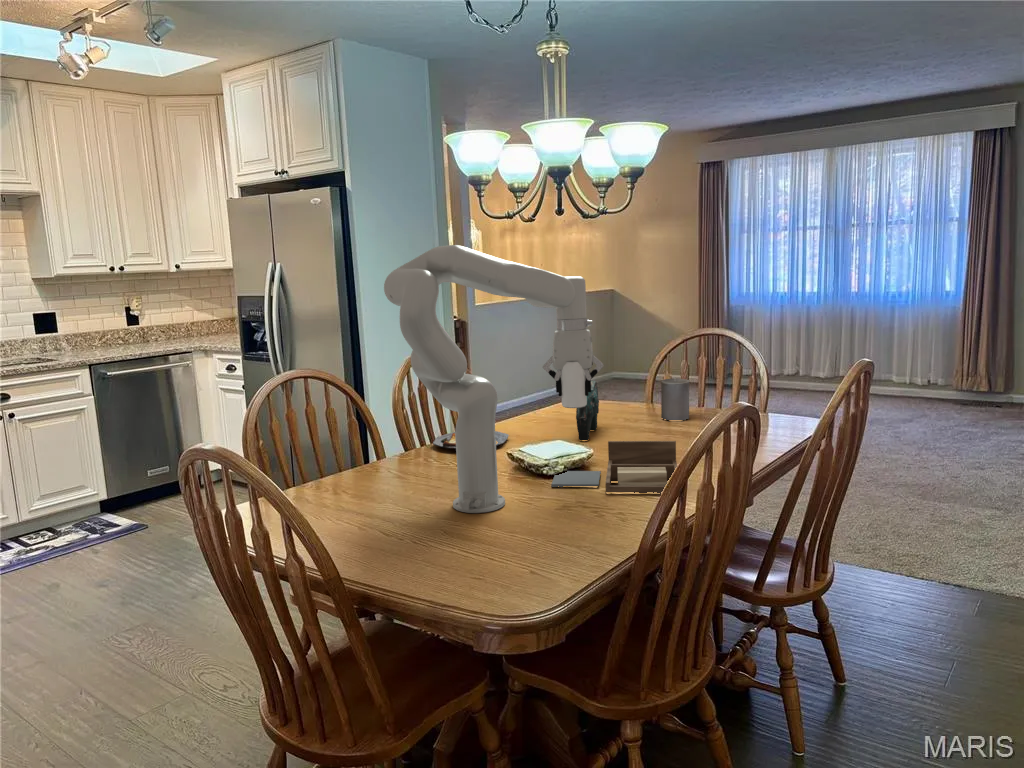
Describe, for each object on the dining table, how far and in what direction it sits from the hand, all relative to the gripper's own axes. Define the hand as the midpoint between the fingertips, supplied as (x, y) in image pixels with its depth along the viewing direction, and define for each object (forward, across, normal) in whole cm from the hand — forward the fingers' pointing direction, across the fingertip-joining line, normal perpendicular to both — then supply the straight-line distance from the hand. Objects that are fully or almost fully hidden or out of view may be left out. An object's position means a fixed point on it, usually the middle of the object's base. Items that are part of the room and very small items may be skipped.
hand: (573, 394), depth 194 cm
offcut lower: (+24, -17, +5) cm, 30 cm away
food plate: (+24, +37, -40) cm, 59 cm away
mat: (+23, 0, 0) cm, 23 cm away
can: (+3, 0, 0) cm, 3 cm away
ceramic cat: (+23, 0, -52) cm, 57 cm away
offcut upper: (+21, -17, +5) cm, 27 cm away
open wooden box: (+23, -17, 0) cm, 29 cm away
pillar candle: (+23, -29, -75) cm, 84 cm away
